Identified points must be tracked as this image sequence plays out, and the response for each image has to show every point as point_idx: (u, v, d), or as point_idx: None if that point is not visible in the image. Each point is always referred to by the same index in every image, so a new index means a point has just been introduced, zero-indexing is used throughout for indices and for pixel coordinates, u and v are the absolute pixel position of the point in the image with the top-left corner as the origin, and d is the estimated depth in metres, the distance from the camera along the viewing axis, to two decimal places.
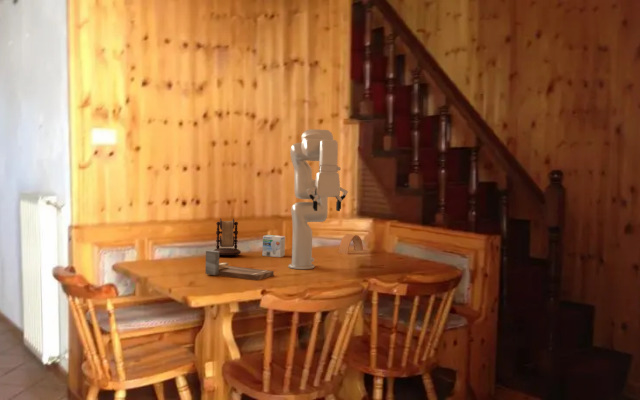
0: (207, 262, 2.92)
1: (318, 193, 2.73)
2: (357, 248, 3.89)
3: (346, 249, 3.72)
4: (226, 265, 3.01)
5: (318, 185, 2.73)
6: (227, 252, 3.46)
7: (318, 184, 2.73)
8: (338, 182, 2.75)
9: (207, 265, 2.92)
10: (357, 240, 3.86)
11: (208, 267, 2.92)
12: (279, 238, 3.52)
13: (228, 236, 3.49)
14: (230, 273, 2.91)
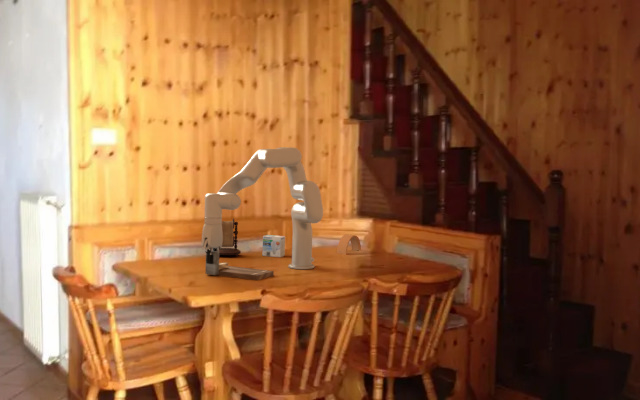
0: None
1: (210, 245, 2.87)
2: (355, 248, 3.88)
3: (344, 249, 3.70)
4: (226, 265, 3.01)
5: (210, 237, 2.87)
6: (227, 252, 3.46)
7: (210, 236, 2.87)
8: None
9: (207, 265, 2.92)
10: (355, 240, 3.85)
11: (208, 267, 2.92)
12: (279, 238, 3.52)
13: (228, 236, 3.49)
14: (230, 273, 2.91)
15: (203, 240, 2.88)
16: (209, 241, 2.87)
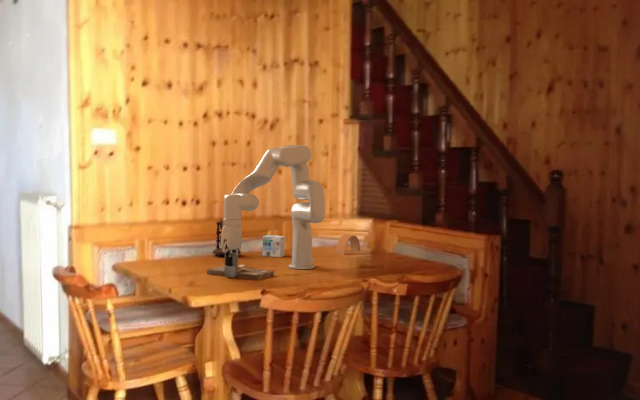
0: None
1: (230, 247, 2.83)
2: (354, 248, 3.87)
3: (343, 249, 3.70)
4: (245, 267, 2.96)
5: (230, 239, 2.83)
6: None
7: (230, 238, 2.83)
8: (241, 234, 2.90)
9: (226, 267, 2.88)
10: (354, 240, 3.84)
11: (227, 269, 2.88)
12: (279, 238, 3.52)
13: None
14: None
15: (222, 242, 2.84)
16: (228, 243, 2.83)
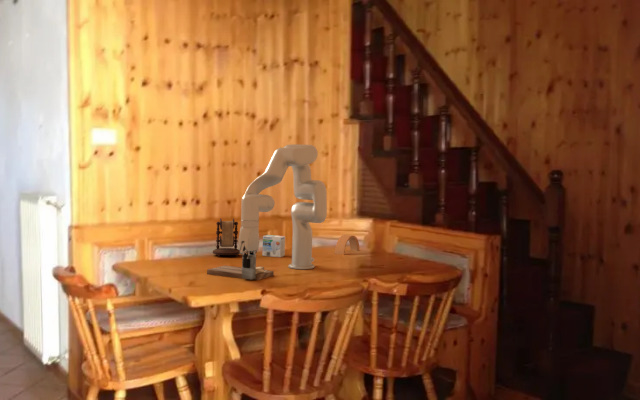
0: None
1: (247, 248, 2.79)
2: (354, 248, 3.86)
3: (342, 249, 3.69)
4: (262, 269, 2.92)
5: (248, 241, 2.79)
6: (227, 252, 3.46)
7: (247, 240, 2.79)
8: (258, 236, 2.86)
9: (244, 269, 2.84)
10: (353, 240, 3.83)
11: (245, 271, 2.84)
12: (279, 238, 3.52)
13: (228, 236, 3.49)
14: (230, 273, 2.91)
15: (240, 244, 2.80)
16: (246, 245, 2.79)
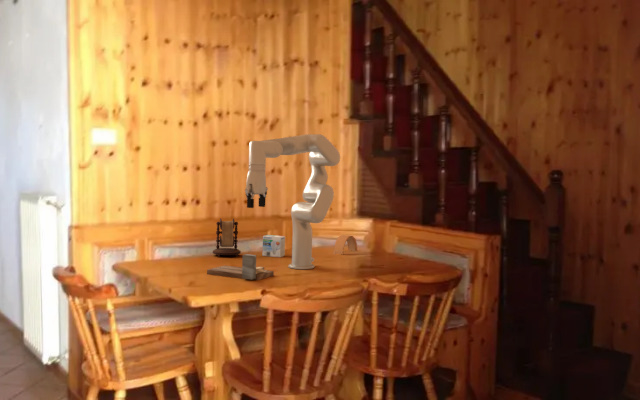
0: (244, 266, 2.84)
1: (255, 191, 2.91)
2: (351, 249, 3.85)
3: (341, 250, 3.68)
4: (262, 269, 2.92)
5: (255, 184, 2.91)
6: (227, 252, 3.46)
7: (255, 183, 2.91)
8: (265, 180, 2.99)
9: (244, 269, 2.84)
10: (351, 241, 3.83)
11: (245, 271, 2.84)
12: (279, 238, 3.52)
13: (228, 236, 3.49)
14: (230, 273, 2.91)
15: (248, 186, 2.92)
16: (254, 187, 2.91)
